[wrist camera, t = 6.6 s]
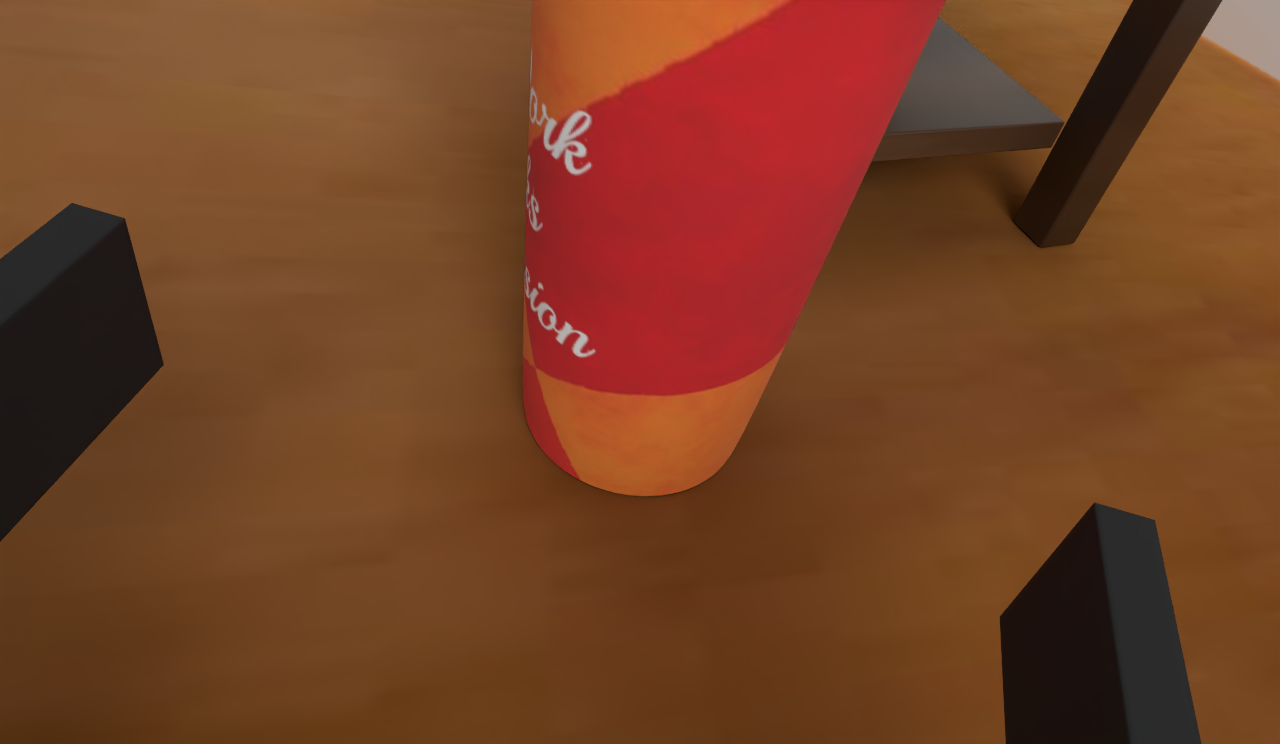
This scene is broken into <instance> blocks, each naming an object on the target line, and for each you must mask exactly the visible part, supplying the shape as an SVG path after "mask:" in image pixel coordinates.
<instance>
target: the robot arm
mask: <svg viewBox="0 0 1280 744" xmlns="http://www.w3.org/2000/svg"><path fill="white" fill-rule="evenodd" d="M163 365H164V364H163V360H162V356H161V352H160V349H159V345H158V341H157V337H156V334H155V330H154V326H153V322H152V319H151V315H150V311H149V307H148V304H147V300H146V296H145V292H144V289H143V285H142V281H141V277H140V274H139V270H138V266H137V262H136V259H135V255H134V251H133V247H132V243H131V240H130V236H129V232H128V228H127V225H126V221H125V218H121V217H118V216H114V215H111V214H108V213H104V212H101V211H97V210H94V209H90V208H87V207H84V206H80V205H77V204H73V203H71V204H70V205H69V206H67V207H66V208H65V209H64V210H62V211H61V212H60V213H59V214H57V215H56V216H55V217H53V218H52V219H51V220H50V221H48V222H47V223H46V224H45V225H43V226H42V227H41V228H39V229H38V230H37V231H36V232H34V233H33V234H32V235H30V236H29V237H28V238H27V239H25V240H24V241H23V242H22V243H20V244H19V245H18V246H16V247H15V248H14V249H13V250H11V251H10V252H9V253H8V254H6V255H5V256H4V257H2V258H1V259H0V541H1V540H2V539H3V538H4V537H5V536H6V535H7V534H8V533H9V532H10V531H11V529H12V528H13V527H14V526H15V525H16V524H17V523H18V522H19V521H20V520H21V519H22V518H23V516H24V515H25V514H26V513H27V512H28V511H29V510H30V509H31V508H32V507H33V506H34V505H35V503H36V502H37V501H38V500H39V499H40V498H41V497H42V496H43V495H44V494H45V493H46V492H47V490H48V489H49V488H50V487H51V486H52V485H53V484H54V483H55V482H56V481H57V480H58V479H59V477H60V476H61V475H62V474H63V473H64V472H65V471H66V470H67V469H68V468H69V467H70V466H71V464H72V463H73V462H74V461H75V460H76V459H77V458H78V457H79V456H80V455H81V454H82V453H83V452H84V450H85V449H86V448H87V447H88V446H89V445H90V444H91V443H92V442H93V441H94V440H95V439H96V437H97V436H98V435H99V434H100V433H101V432H102V431H103V430H104V429H105V428H106V427H107V426H108V424H109V423H110V422H111V421H112V420H113V419H114V418H115V417H116V416H117V415H118V414H119V413H120V411H121V410H122V409H123V408H124V407H125V406H126V405H127V404H128V403H129V402H130V401H131V400H132V398H133V397H134V396H135V395H136V394H137V393H138V392H139V391H140V390H141V389H142V388H143V387H144V385H145V384H146V383H147V382H148V381H149V380H150V379H151V378H152V377H153V376H154V375H155V374H156V373H157V371H158V370H159V369H160V368H161V367H162V366H163ZM1000 631H1001V651H1002V672H1003V693H1004V713H1005V734H1006V744H1201V740H1200V735H1199V730H1198V726H1197V721H1196V716H1195V711H1194V706H1193V701H1192V697H1191V692H1190V687H1189V682H1188V677H1187V673H1186V668H1185V663H1184V658H1183V653H1182V648H1181V644H1180V639H1179V634H1178V629H1177V624H1176V620H1175V615H1174V610H1173V605H1172V600H1171V596H1170V591H1169V586H1168V581H1167V576H1166V571H1165V567H1164V562H1163V557H1162V552H1161V547H1160V543H1159V538H1158V533H1157V528H1156V523H1155V520H1152V519H1149V518H1145V517H1142V516H1139V515H1135V514H1132V513H1128V512H1125V511H1122V510H1118V509H1115V508H1111V507H1108V506H1104V505H1101V504H1098V503H1094V504H1093V505H1092V506H1091V507H1090V509H1089V510H1088V511H1087V512H1086V513H1085V515H1084V516H1083V517H1082V518H1081V519H1080V521H1079V522H1078V523H1077V524H1076V525H1075V527H1074V528H1073V529H1072V530H1071V531H1070V533H1069V534H1068V535H1067V536H1066V538H1065V539H1064V540H1063V541H1062V542H1061V544H1060V545H1059V546H1058V547H1057V548H1056V550H1055V551H1054V552H1053V553H1052V554H1051V556H1050V557H1049V558H1048V559H1047V561H1046V562H1045V563H1044V564H1043V565H1042V567H1041V568H1040V569H1039V570H1038V571H1037V573H1036V574H1035V575H1034V576H1033V577H1032V579H1031V580H1030V581H1029V582H1028V583H1027V585H1026V586H1025V587H1024V588H1023V590H1022V591H1021V592H1020V593H1019V594H1018V596H1017V597H1016V598H1015V599H1014V600H1013V602H1012V603H1011V604H1010V605H1009V606H1008V608H1007V609H1006V610H1005V611H1004V613H1003V614H1002V615H1001V616H1000Z"/></svg>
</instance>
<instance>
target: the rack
mask: <svg viewBox="0 0 1280 744" xmlns="http://www.w3.org/2000/svg"><path fill="white" fill-rule="evenodd" d="M1221 2H1222V0H1133V2H1132V3H1131V5H1130V7H1129V9H1128V11H1127V13H1126V14H1125V16H1124V18H1123V20H1122V22H1121V24H1120V26H1119V27H1118V29H1117V31H1116V33H1115V35H1114V37H1113V38H1112V40H1111V42H1110V44H1109V46H1108V48H1107V49H1106V51H1105V53H1104V55H1103V57H1102V59H1101V61H1100V62H1099V64H1098V66H1097V68H1096V70H1095V72H1094V73H1093V75H1092V77H1091V79H1090V81H1089V83H1088V84H1087V86H1086V88H1085V90H1084V92H1083V94H1082V95H1081V97H1080V99H1079V101H1078V103H1077V105H1076V107H1075V108H1074V110H1073V112H1072V114H1071V116H1070V118H1069V119H1068V121H1067V123H1066V125H1065V127H1064V129H1063V130H1062V132H1061V134H1060V136H1059V138H1058V140H1057V141H1056V143H1055V145H1054V147H1053V149H1052V151H1051V153H1050V154H1049V156H1048V158H1047V160H1046V162H1045V164H1044V165H1043V167H1042V169H1041V171H1040V173H1039V175H1038V176H1037V178H1036V180H1035V182H1034V184H1033V186H1032V188H1031V189H1030V191H1029V193H1028V195H1027V197H1026V199H1025V200H1024V202H1023V204H1022V206H1021V208H1020V210H1019V211H1018V213H1017V215H1016V217H1015V219H1014V222H1015V223H1016V224H1017V225H1018V226H1019V227H1020V228H1021V229H1022V230H1023V231H1024V232H1025V233H1026V234H1027V235H1028V236H1029V237H1030V238H1031V239H1032V240H1033V241H1034V242H1035V243H1036V244H1037V245H1038V246H1039V247H1049V246H1057V245H1064V244H1072V243H1074V242H1075V241H1076V239H1077V237H1078V236H1079V234H1080V232H1081V231H1082V229H1083V228H1084V226H1085V224H1086V223H1087V221H1088V219H1089V218H1090V216H1091V214H1092V213H1093V211H1094V209H1095V208H1096V206H1097V205H1098V203H1099V201H1100V200H1101V198H1102V196H1103V195H1104V193H1105V191H1106V190H1107V188H1108V187H1109V185H1110V183H1111V182H1112V180H1113V178H1114V177H1115V175H1116V173H1117V172H1118V170H1119V169H1120V167H1121V165H1122V164H1123V162H1124V160H1125V159H1126V157H1127V155H1128V154H1129V152H1130V151H1131V149H1132V147H1133V146H1134V144H1135V142H1136V141H1137V139H1138V137H1139V136H1140V134H1141V133H1142V131H1143V129H1144V128H1145V126H1146V124H1147V123H1148V121H1149V119H1150V118H1151V116H1152V115H1153V113H1154V111H1155V110H1156V108H1157V106H1158V105H1159V103H1160V101H1161V100H1162V98H1163V97H1164V95H1165V93H1166V92H1167V90H1168V88H1169V87H1170V85H1171V83H1172V82H1173V80H1174V79H1175V77H1176V75H1177V74H1178V72H1179V70H1180V69H1181V67H1182V65H1183V64H1184V62H1185V61H1186V59H1187V57H1188V56H1189V54H1190V52H1191V51H1192V49H1193V47H1194V46H1195V44H1196V43H1197V41H1198V39H1199V38H1200V36H1201V34H1202V33H1203V31H1204V29H1205V28H1206V26H1207V24H1208V23H1209V21H1210V20H1211V18H1212V16H1213V15H1214V13H1215V11H1216V10H1217V8H1218V7H1219V5H1220V3H1221ZM1063 125H1064V121H1063V120H1062V119H1060V118H1059V117H1058V116H1057V115H1056V114H1054V113H1053V112H1052V111H1051V110H1050V109H1048V108H1047V107H1046V106H1045V105H1044V104H1042V103H1041V102H1040V101H1039V100H1038V99H1036V98H1035V97H1034V96H1033V95H1032V94H1030V93H1029V92H1028V91H1027V90H1026V89H1024V88H1023V87H1022V86H1021V85H1020V84H1018V83H1017V82H1016V81H1015V80H1014V79H1012V78H1011V77H1010V76H1009V75H1008V74H1006V73H1005V72H1004V71H1003V70H1002V69H1000V68H999V67H998V66H997V65H996V64H994V63H993V62H992V61H991V60H990V59H988V58H987V57H986V56H985V55H984V54H982V53H981V52H980V51H979V50H978V49H976V48H975V47H974V46H973V45H972V44H970V43H969V42H968V41H967V40H966V39H964V38H963V37H962V36H961V35H960V34H958V33H957V32H956V31H955V30H954V29H952V28H951V27H950V26H949V25H948V24H946V23H945V22H944V21H943V20H942V19H940V18H939V17H938V19H937V21H936V23H935V25H934V28H933V30H932V32H931V34H930V36H929V38H928V40H927V43H926V45H925V47H924V49H923V51H922V53H921V55H920V58H919V60H918V62H917V64H916V66H915V68H914V71H913V73H912V75H911V77H910V79H909V81H908V83H907V86H906V88H905V90H904V92H903V94H902V96H901V98H900V101H899V103H898V105H897V107H896V109H895V111H894V114H893V116H892V118H891V120H890V122H889V124H888V126H887V129H886V131H885V133H884V135H883V137H882V139H881V142H880V144H879V146H878V148H877V150H876V152H875V154H874V157H873V159H872V161H871V162H876V161H888V160H901V159H914V158H926V157H939V156H952V155H964V154H977V153H990V152H1002V151H1015V150H1028V149H1040V148H1050V147H1052V145H1053V143H1054V141H1055V139H1056V138H1057V136H1058V134H1059V132H1060V130H1061V128H1062V126H1063Z"/></svg>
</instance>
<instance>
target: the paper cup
mask: <svg viewBox="0 0 1280 744" xmlns="http://www.w3.org/2000/svg"><path fill="white" fill-rule="evenodd" d="M945 2H946V0H533V8H532V41H531V72H530V104H529V136H528V168H527V202H526V238H525V274H524V318H523V400H524V409H525V415H526V420H527V423H528V426H529V429H530V431H531V433H532V435H533V437H534V439H535V441H536V442H537V444H538V445H539V447H540V448H541V449H542V451H543V452H544V453H545V454H546V455H547V456H548V457H549V458H550V459H551V460H552V461H553V462H554V463H555V464H556V465H558V466H559V467H560V468H561V469H563V470H564V471H566V472H567V473H569V474H570V475H572V476H573V477H575V478H577V479H579V480H581V481H583V482H585V483H587V484H589V485H592V486H594V487H597V488H600V489H603V490H606V491H610V492H614V493H619V494H625V495H633V496H658V495H666V494H672V493H676V492H680V491H683V490H687V489H689V488H692V487H694V486H696V485H698V484H700V483H702V482H704V481H705V480H707V479H708V478H710V477H711V476H713V475H714V474H715V473H716V472H717V471H718V470H719V469H720V468H721V467H722V466H723V465H724V463H725V462H726V461H727V459H728V458H729V457H730V455H731V454H732V452H733V450H734V449H735V447H736V445H737V443H738V441H739V440H740V438H741V436H742V434H743V432H744V430H745V428H746V426H747V424H748V422H749V420H750V418H751V416H752V414H753V412H754V410H755V408H756V406H757V404H758V402H759V400H760V398H761V396H762V394H763V391H764V389H765V387H766V385H767V383H768V381H769V379H770V377H771V375H772V373H773V370H774V368H775V366H776V364H777V362H778V360H779V358H780V356H781V354H782V352H783V349H784V347H785V345H786V343H787V341H788V339H789V337H790V335H791V333H792V330H793V328H794V326H795V324H796V322H797V320H798V318H799V315H800V313H801V311H802V309H803V307H804V305H805V303H806V301H807V298H808V296H809V294H810V292H811V290H812V288H813V286H814V283H815V281H816V279H817V277H818V275H819V273H820V271H821V269H822V266H823V264H824V262H825V260H826V258H827V256H828V254H829V251H830V249H831V247H832V245H833V243H834V241H835V239H836V236H837V234H838V232H839V230H840V228H841V226H842V223H843V221H844V219H845V217H846V215H847V213H848V211H849V208H850V206H851V204H852V202H853V200H854V198H855V195H856V193H857V191H858V189H859V187H860V185H861V182H862V180H863V178H864V176H865V174H866V172H867V170H868V167H869V165H870V163H871V161H872V159H873V157H874V154H875V152H876V150H877V148H878V146H879V144H880V142H881V139H882V137H883V135H884V133H885V131H886V129H887V126H888V124H889V122H890V120H891V118H892V116H893V114H894V111H895V109H896V107H897V105H898V103H899V101H900V98H901V96H902V94H903V92H904V90H905V88H906V86H907V83H908V81H909V79H910V77H911V75H912V73H913V71H914V68H915V66H916V64H917V62H918V60H919V58H920V55H921V53H922V51H923V49H924V47H925V45H926V43H927V40H928V38H929V36H930V34H931V32H932V30H933V28H934V25H935V23H936V21H937V19H938V17H939V15H940V12H941V10H942V8H943V6H944V4H945Z"/></svg>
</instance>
